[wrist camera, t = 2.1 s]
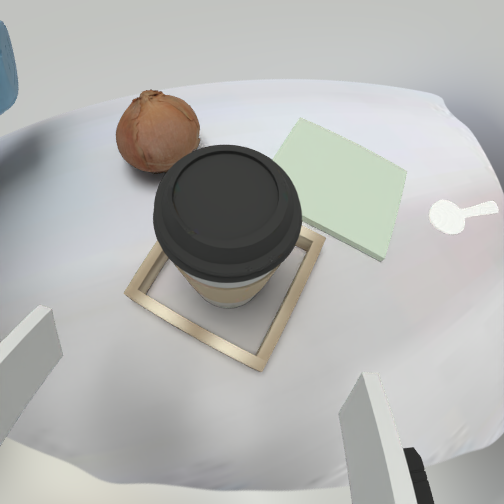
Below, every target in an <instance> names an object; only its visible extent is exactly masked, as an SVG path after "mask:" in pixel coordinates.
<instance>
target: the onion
mask: <svg viewBox="0 0 504 504" xmlns="http://www.w3.org/2000/svg"><path fill="white" fill-rule="evenodd" d="M132 101H133V102H132V103H131V104H130V106H129V107H128V108H127V109H126V111H125V112H124V114H123V115H122V117H121V119H120V121H119V123H118V126H117V130H116V142H117V146H118V149H119V152H120V153H121V155H122V157H123V158H124V159H125V160H126V161H127V162H128V163H129V164H130V165H132V166H134V167H135V168H137V169H139V170H142V171H146V172H151V173H154V172H155V173H154V174H157V172H158V173H163V172H165V173H166V172H167V171H168V170H169V169H170V168H171V167H172V166H173V165H174V164H175V163H176V162H177V161H179V160H180V159H181V158H183V157H184V156H186V155H188V154H189V153H191V152H192V151H193V150H194V149H197V147H198V145H199V142H200V138H198V137H199V131H200V125H199V122H198V119H197V116H196V114H195V112H194V111H193V109H192V108H191V106H190V105H188V104H187V103H186V102H185V101H184V100H182V99H180V98H177V97H174V96H170V95H164V94H163V93H162V92H161V91H160V92H159V91H158V90H156V91H153V90H149V91H148V90H146V91H143V92H142V93H141V94H140V97H139V98H138V97H137V99H133V100H132Z"/></svg>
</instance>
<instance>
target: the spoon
mask: <svg viewBox="0 0 504 504" xmlns="http://www.w3.org/2000/svg"><path fill="white" fill-rule="evenodd" d="M498 211H499V210H498V206H497V204H496V203H495V202H494V201H489V202H484V203H482V204H478V205H475V206H472V207H468V208H465V209H460V208H459V207H458V206H456V205H455V204H454V203H453V202H451V201H448V200H439V201H437V202H435V203H434V204H433V205H432V206H431V208H430V209H429V214H428V215H429V220H430V223H431V224H432V225H433V227H434V228H436V229H437V230H438V231H440V232H442V233H444V234H448V235H456V234H459V233H461V232H462V231H463V229H464V225H465V218H469V217H475V216H482V215H489V214H490V215H491V214H496V213H498Z"/></svg>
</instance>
